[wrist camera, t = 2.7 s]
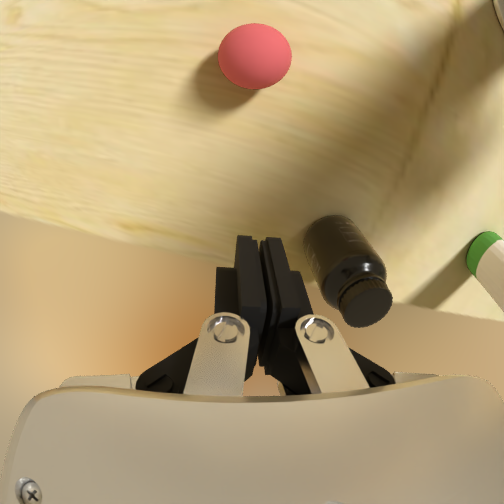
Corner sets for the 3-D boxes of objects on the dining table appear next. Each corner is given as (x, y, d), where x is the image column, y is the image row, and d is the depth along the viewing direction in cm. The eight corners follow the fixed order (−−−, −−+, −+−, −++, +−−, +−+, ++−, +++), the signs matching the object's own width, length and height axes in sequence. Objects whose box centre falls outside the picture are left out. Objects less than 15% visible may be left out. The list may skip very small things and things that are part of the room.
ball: (257, 19, 20) (264, 3, 15) (297, 65, 23) (314, 61, 18) (206, 55, 22) (199, 48, 17) (247, 100, 25) (251, 105, 20)
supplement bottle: (338, 269, 36) (371, 341, 26) (292, 253, 34) (315, 329, 24) (367, 225, 33) (416, 290, 23) (321, 203, 31) (361, 268, 21)
